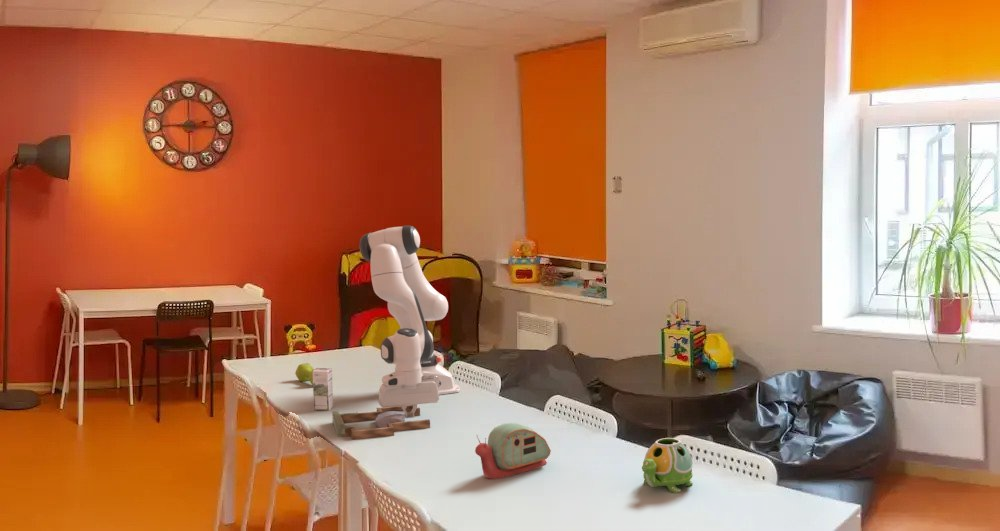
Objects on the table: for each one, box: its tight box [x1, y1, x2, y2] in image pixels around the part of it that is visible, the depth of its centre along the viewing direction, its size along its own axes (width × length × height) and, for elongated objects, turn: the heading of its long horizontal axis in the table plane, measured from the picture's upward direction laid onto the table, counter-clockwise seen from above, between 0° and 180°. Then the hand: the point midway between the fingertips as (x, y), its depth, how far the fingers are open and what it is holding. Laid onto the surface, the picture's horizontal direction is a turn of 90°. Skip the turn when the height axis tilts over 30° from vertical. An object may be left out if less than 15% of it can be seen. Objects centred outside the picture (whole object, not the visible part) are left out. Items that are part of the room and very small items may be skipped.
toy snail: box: [474, 422, 552, 480], centre depth 252 cm, size 25×8×14 cm, turn 129°
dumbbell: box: [294, 362, 315, 386], centre depth 365 cm, size 16×8×7 cm, turn 37°
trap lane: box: [331, 405, 431, 440], centre depth 301 cm, size 30×27×4 cm
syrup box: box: [312, 367, 334, 411], centre depth 324 cm, size 6×6×14 cm
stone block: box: [374, 411, 406, 428], centre depth 303 cm, size 12×5×10 cm
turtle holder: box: [641, 437, 694, 494], centre depth 237 cm, size 12×18×12 cm
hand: (409, 417), depth 304 cm, fingers closed
